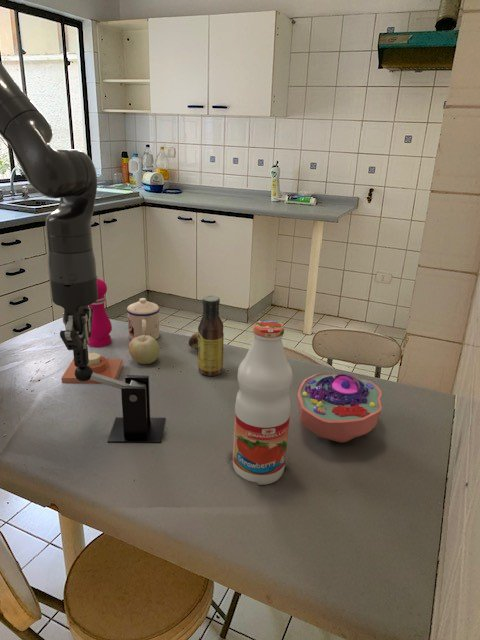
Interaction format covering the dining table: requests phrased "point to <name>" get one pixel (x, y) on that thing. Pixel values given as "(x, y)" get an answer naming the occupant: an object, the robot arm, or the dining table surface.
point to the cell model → (339, 405)
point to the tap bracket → (136, 415)
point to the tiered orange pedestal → (95, 370)
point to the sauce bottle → (210, 338)
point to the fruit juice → (263, 407)
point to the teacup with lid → (143, 319)
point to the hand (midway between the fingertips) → (81, 365)
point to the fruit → (144, 349)
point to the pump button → (94, 359)
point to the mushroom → (194, 341)
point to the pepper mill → (100, 319)
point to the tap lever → (101, 378)
